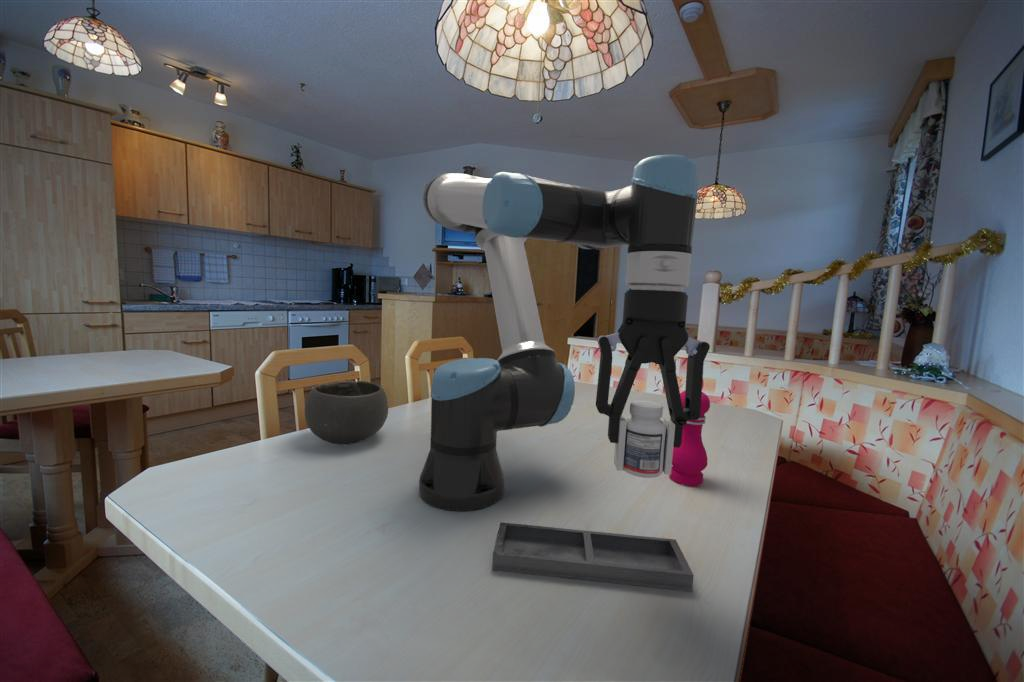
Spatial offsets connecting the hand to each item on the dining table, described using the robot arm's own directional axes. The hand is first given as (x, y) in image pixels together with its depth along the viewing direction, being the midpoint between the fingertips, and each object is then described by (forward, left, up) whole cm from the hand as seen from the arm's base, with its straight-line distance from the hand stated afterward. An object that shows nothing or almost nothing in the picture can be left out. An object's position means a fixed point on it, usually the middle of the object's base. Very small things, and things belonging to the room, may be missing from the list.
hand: (641, 467), depth 55 cm
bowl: (-58, +36, -14) cm, 70 cm away
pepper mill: (+16, +30, -14) cm, 37 cm away
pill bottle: (0, 0, 0) cm, 0 cm away
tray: (-6, 0, -14) cm, 15 cm away
